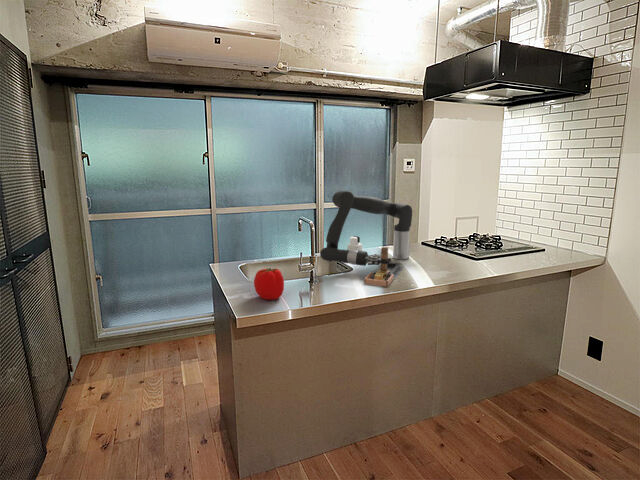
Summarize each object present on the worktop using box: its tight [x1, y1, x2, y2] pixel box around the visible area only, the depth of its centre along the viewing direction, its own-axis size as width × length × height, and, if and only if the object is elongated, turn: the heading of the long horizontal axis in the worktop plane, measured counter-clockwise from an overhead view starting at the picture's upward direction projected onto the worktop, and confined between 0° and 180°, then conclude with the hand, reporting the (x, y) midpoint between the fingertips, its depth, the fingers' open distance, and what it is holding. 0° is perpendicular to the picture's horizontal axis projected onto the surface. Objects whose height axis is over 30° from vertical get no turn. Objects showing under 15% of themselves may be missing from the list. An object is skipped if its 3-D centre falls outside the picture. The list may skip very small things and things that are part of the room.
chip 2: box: [374, 273, 385, 281], centre depth 190 cm, size 4×4×4 cm
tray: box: [363, 271, 395, 288], centre depth 190 cm, size 13×12×3 cm
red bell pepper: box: [253, 267, 285, 301], centre depth 170 cm, size 16×14×14 cm
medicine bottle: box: [346, 235, 363, 251], centre depth 243 cm, size 7×7×12 cm
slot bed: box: [372, 262, 404, 280], centre depth 206 cm, size 22×13×3 cm, turn 157°
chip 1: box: [376, 270, 387, 281], centre depth 194 cm, size 4×4×4 cm
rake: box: [380, 246, 390, 279], centre depth 197 cm, size 7×5×15 cm
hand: (389, 261), depth 196 cm, fingers closed on rake, 2 cm apart
